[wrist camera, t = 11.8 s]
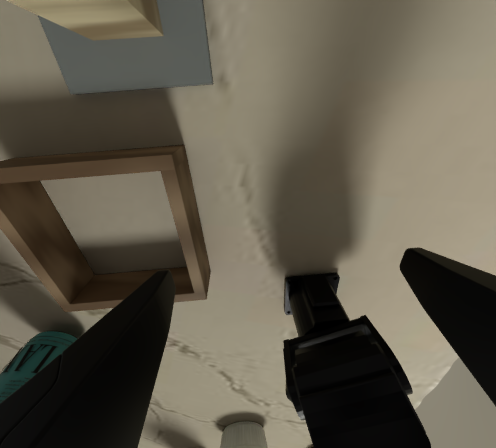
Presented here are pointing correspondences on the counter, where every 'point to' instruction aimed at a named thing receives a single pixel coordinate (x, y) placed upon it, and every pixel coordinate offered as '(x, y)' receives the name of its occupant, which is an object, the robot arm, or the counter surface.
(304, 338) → the robot arm
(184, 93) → the counter surface
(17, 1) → the maple block
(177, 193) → the box
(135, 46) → the pad
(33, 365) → the beverage bottle
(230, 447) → the ramekin
